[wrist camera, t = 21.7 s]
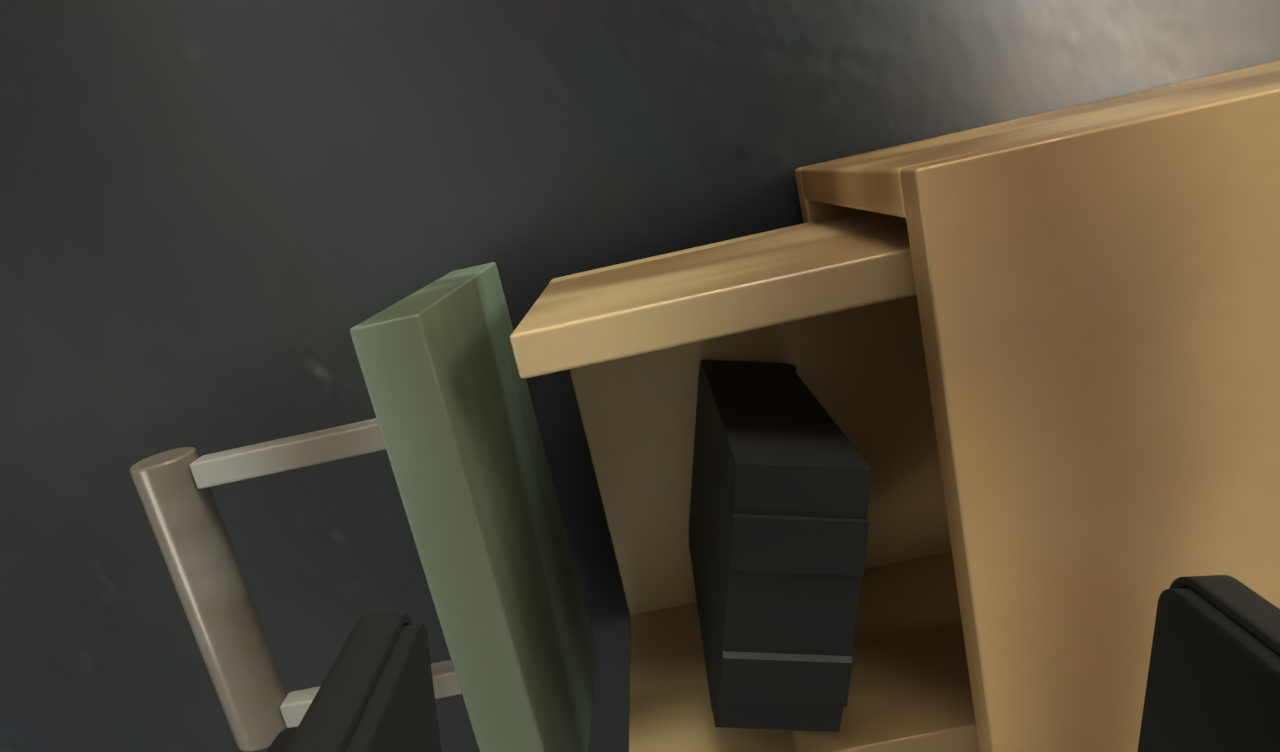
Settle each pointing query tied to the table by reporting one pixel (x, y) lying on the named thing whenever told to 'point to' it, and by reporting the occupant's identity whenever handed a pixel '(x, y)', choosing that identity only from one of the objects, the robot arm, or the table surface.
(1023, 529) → the cabinet
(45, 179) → the table surface
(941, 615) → the drawer
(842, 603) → the ink cartridge
